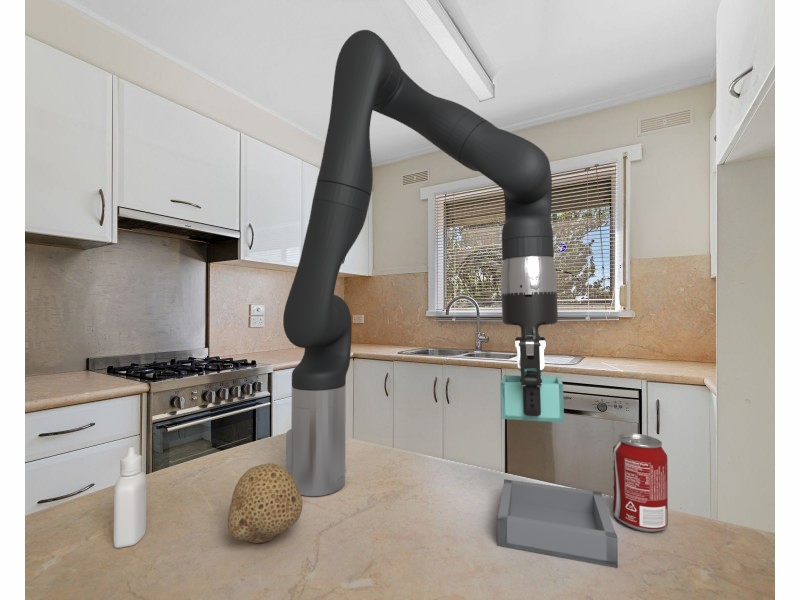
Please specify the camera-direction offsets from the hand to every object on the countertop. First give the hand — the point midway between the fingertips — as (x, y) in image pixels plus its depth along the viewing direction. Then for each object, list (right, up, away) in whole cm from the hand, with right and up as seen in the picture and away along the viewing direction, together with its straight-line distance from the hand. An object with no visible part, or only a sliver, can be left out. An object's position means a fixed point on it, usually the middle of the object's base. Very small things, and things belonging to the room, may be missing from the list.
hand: (532, 408), depth 58 cm
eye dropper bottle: (-55, -17, -3) cm, 58 cm away
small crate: (0, -1, 0) cm, 1 cm away
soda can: (+16, -17, +1) cm, 23 cm away
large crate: (+3, -17, -1) cm, 17 cm away
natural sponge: (-36, -17, -4) cm, 40 cm away
